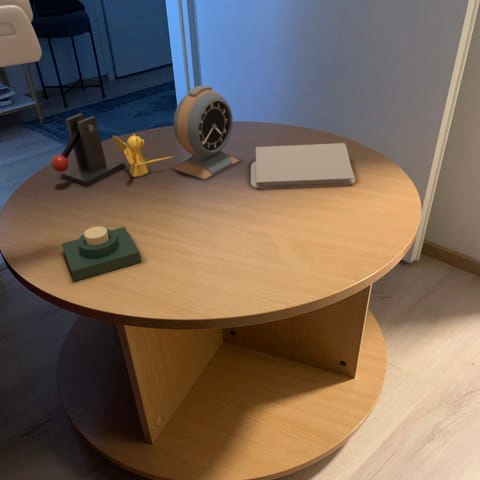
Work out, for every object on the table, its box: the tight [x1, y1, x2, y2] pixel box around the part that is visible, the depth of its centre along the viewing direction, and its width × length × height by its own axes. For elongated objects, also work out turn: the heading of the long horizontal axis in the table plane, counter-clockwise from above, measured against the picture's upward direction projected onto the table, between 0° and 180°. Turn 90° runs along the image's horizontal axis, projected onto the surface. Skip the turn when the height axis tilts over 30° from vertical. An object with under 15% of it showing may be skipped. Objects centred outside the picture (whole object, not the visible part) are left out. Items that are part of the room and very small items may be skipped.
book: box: [250, 142, 356, 190], centre depth 113 cm, size 15×23×4 cm, turn 89°
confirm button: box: [83, 226, 109, 246], centre depth 89 cm, size 4×4×2 cm
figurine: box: [111, 132, 175, 178], centre depth 117 cm, size 12×12×9 cm
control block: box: [61, 226, 143, 282], centre depth 91 cm, size 12×10×4 cm
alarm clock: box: [173, 85, 241, 181], centre depth 115 cm, size 14×10×18 cm
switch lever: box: [51, 117, 86, 173], centre depth 113 cm, size 13×4×4 cm
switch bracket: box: [60, 112, 126, 187], centre depth 117 cm, size 12×9×13 cm
